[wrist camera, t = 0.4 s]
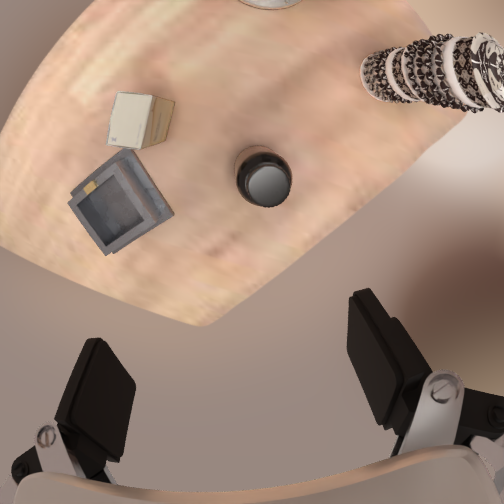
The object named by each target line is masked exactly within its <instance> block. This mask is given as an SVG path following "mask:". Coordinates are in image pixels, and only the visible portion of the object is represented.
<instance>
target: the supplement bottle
mask: <svg viewBox="0 0 504 504" xmlns="http://www.w3.org/2000/svg"><path fill="white" fill-rule="evenodd" d="M234 174H235V180H236V185H237V188H238V191H239V193H240V194H241V196H242V197H243V198H244V199H245V200H246V201H248V202H249V203H251V204H254V205H257V206H263V207H268V208H269V207H274V206H278V205H279V204H281V203H282V202H284V200H285V199H286V198H287V196H288V195H289V192H290V188H291V185H292V172H291V169H290V167H289V165H288V163H287V162H286V161H285V160H284V159H283V158H282V157H281V156H279V155H278V154H277V153H275V152H274V151H272V150H271V149H269V148H267V147H264V146H252V147H249V148H246V149H245V150H243V151H242V152H241V153H240V154H239V155H238V157H237V159H236V161H235V165H234Z"/></svg>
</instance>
